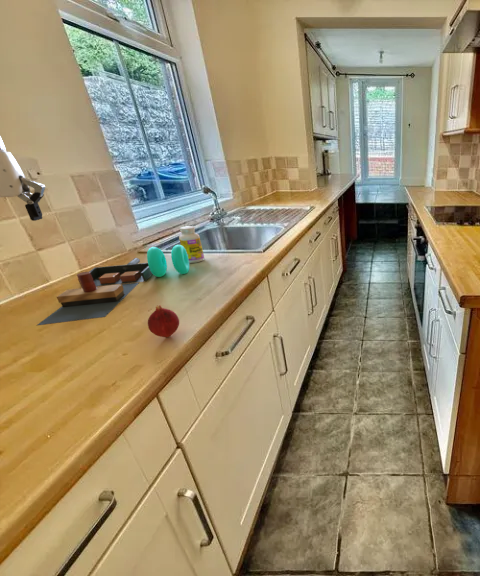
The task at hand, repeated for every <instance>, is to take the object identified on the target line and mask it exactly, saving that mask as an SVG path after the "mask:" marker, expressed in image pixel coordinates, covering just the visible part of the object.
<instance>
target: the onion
mask: <svg viewBox="0 0 480 576" xmlns="http://www.w3.org/2000/svg"><path fill="white" fill-rule="evenodd" d="M179 326H180V319H179V317H178V315H177V314H176V313H175V311H173V310H171V309H169V308H165V307H162V305H161V304H157V305H156V306H155V310H154V311H153V312H152V313H150V315H149V316H148V318H147V327H148V330H149V331H150V332H151V333H152V334H153V335H155V336H157V337H161V338H171V336H172V335H174V334H175V333H176V332H177V330H178V328H179Z"/></svg>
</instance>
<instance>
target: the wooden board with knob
mask: <svg viewBox="0 0 480 576" xmlns="http://www.w3.org/2000/svg"><path fill="white" fill-rule="evenodd" d="M76 277H77V280H78V279H79V280H78V283H79V282H80V283H79V285H80V284H81V285H80V288H79V287H78V288H69V289H66V290H64V291H63V292H62V293H60V294H58V295H57V296H56V300H57V302H58V303H60V305H61V307H71V306H80V305H90V304H99V303H109V302H117V301H118V300H120V299H121V298H122V297H123V296H124V292H123V290H124V289H123V286H122V284H120V285H119V284H116V285H110V286H109V285H106V286H96V285H95V283H94V280H93V278H92V275H91V273H90V272H89V271H82V272H78V273H77V274H76ZM81 286H82V287H81Z"/></svg>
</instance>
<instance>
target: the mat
mask: <svg viewBox="0 0 480 576" xmlns="http://www.w3.org/2000/svg"><path fill="white" fill-rule="evenodd" d="M140 283H141V282H136V283H126V284H122V286H123V289H124V290H123V292H124V296H123V297H122V298H121V299H120V300H118V301H117V302H109V303H99V304H90V305H80V306H71V307H62V306H60V307H59V308H57V309H56V310H55V311H53V312H52V313H51V314H50V315H48V316H47V317H45V318H44V319H43V320H41V321H40V322H39V323H37V324H36V326H44V325H53V324H59V323H68V322H77V321H83V320H91V319H100V318H105V317H107V316H108V315H109V314H110V313H111V312H112V311H113V310H114V309H115V308H116V307H117V306H118V305H119V304H120V303H121V302H122V301H123V300H124V299H126V297H127V296H128V295H130V293H131V292H132V291H133V290H134V289H135V288H136V287H137V286H138V285H139V284H140ZM118 285H120V284H118ZM108 286H110V285H108Z"/></svg>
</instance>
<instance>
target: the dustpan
mask: <svg viewBox="0 0 480 576" xmlns="http://www.w3.org/2000/svg"><path fill="white" fill-rule="evenodd" d="M132 271H139V272H140V275H141V277H140V278H139V279H137V280H136V281H128V282H121V279H119V280H118V281H117V282H116V283H106V284H101V283H100V280H99V278H100V277H101V276H103V275H104V274H109V273H120V276H121V275H122V274H123V273H125V272H132ZM88 272H90V273H91V275H92V278H93V280H94V283H95V285H96V287H99V286H109V285H119V284H129V283H139V282H140V283H146V282H147V281H148V280H149V279H150V278H151V277H152V276H153V274H152V272H151V271H150V268H149V265H148V262H142V263H141V259H140V258H138V257H134V258H133V259H131V260H130V261H129V262H128V263H126V264H118V265H117V264H116V265H107V266H106V265H105V266H95V267H93V268H92V269H90V270H89V271H88ZM77 280H78V283H79V285H80V288H82V286H81V284H80V282H79V279H78V278H77Z"/></svg>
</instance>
